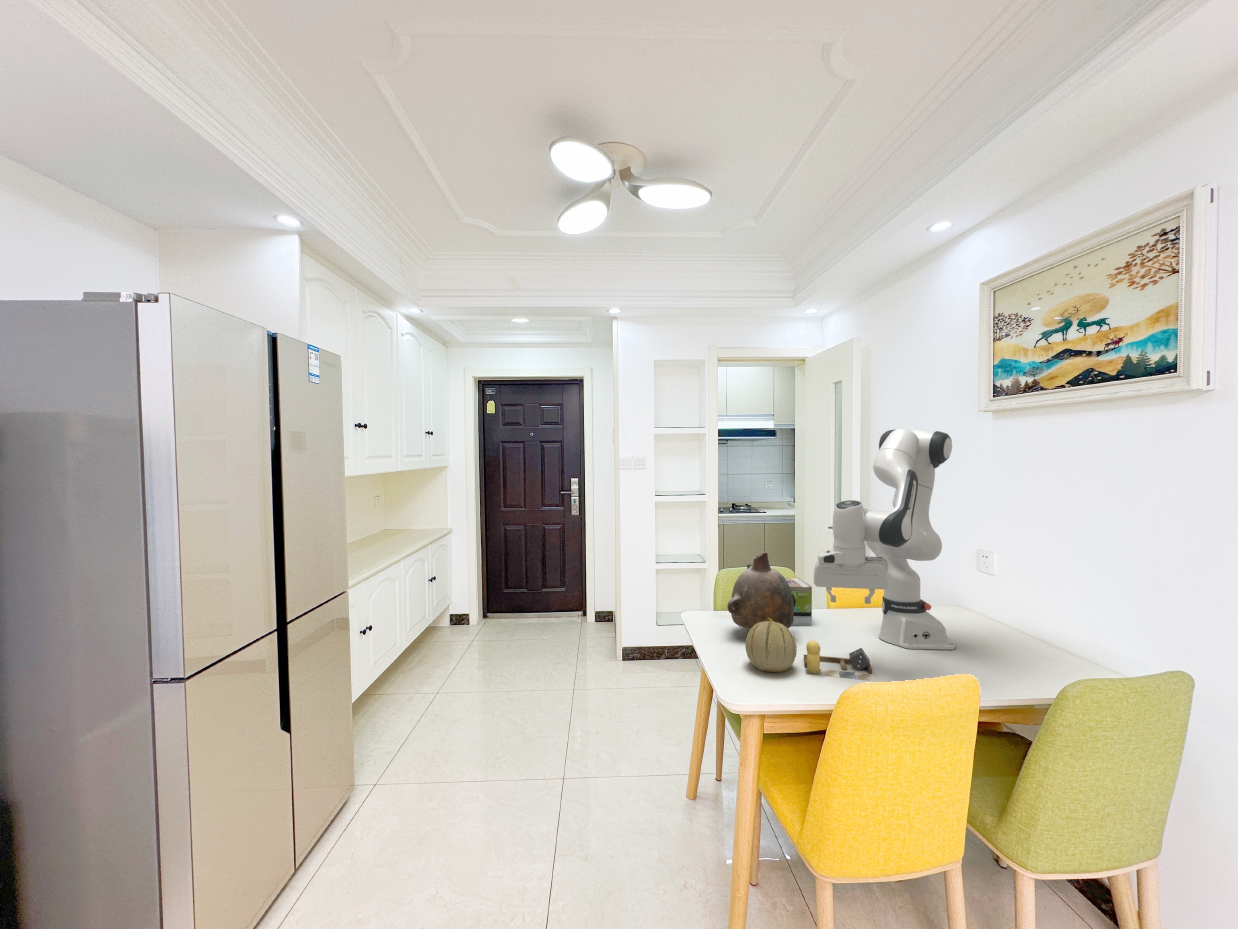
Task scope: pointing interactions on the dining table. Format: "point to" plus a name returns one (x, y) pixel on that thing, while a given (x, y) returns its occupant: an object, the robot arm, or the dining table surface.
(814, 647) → the pawn
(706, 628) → the dining table surface
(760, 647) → the cantaloupe
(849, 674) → the board
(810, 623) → the tea box
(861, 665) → the die
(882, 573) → the robot arm
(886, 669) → the dining table surface
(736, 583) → the jug
